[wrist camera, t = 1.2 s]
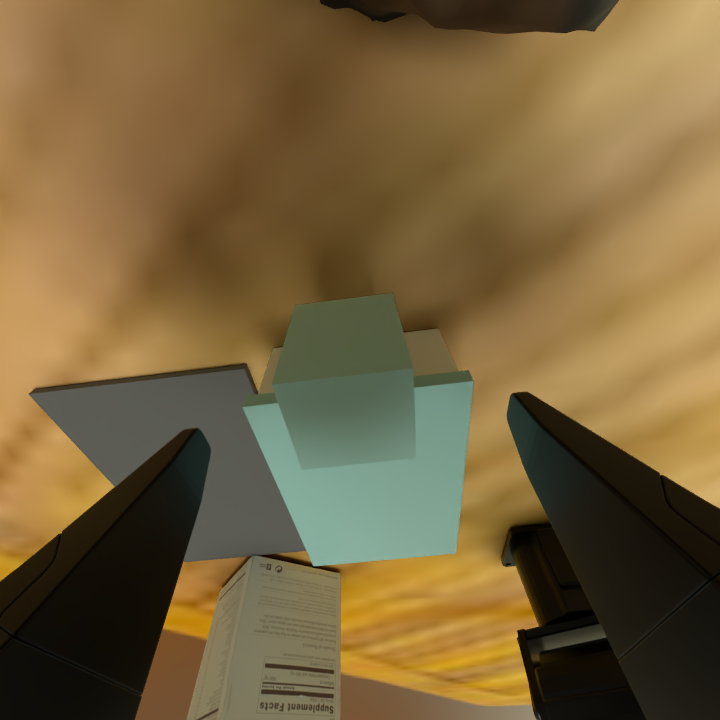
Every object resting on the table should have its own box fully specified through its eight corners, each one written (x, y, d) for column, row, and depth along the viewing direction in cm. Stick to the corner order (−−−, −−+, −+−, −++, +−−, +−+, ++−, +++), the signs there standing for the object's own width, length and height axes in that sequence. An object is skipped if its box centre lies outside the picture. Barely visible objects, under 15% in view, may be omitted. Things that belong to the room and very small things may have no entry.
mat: (317, 545, 29) (317, 549, 29) (186, 557, 30) (185, 562, 29) (246, 364, 18) (244, 368, 17) (34, 389, 18) (28, 394, 18)
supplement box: (300, 603, 37) (274, 888, 23) (218, 589, 33) (132, 910, 20) (344, 571, 32) (343, 906, 18) (253, 552, 29) (171, 939, 15)
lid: (450, 532, 22) (472, 616, 18) (315, 545, 22) (308, 629, 19) (470, 283, 12) (527, 355, 8) (220, 314, 12) (164, 397, 8)
